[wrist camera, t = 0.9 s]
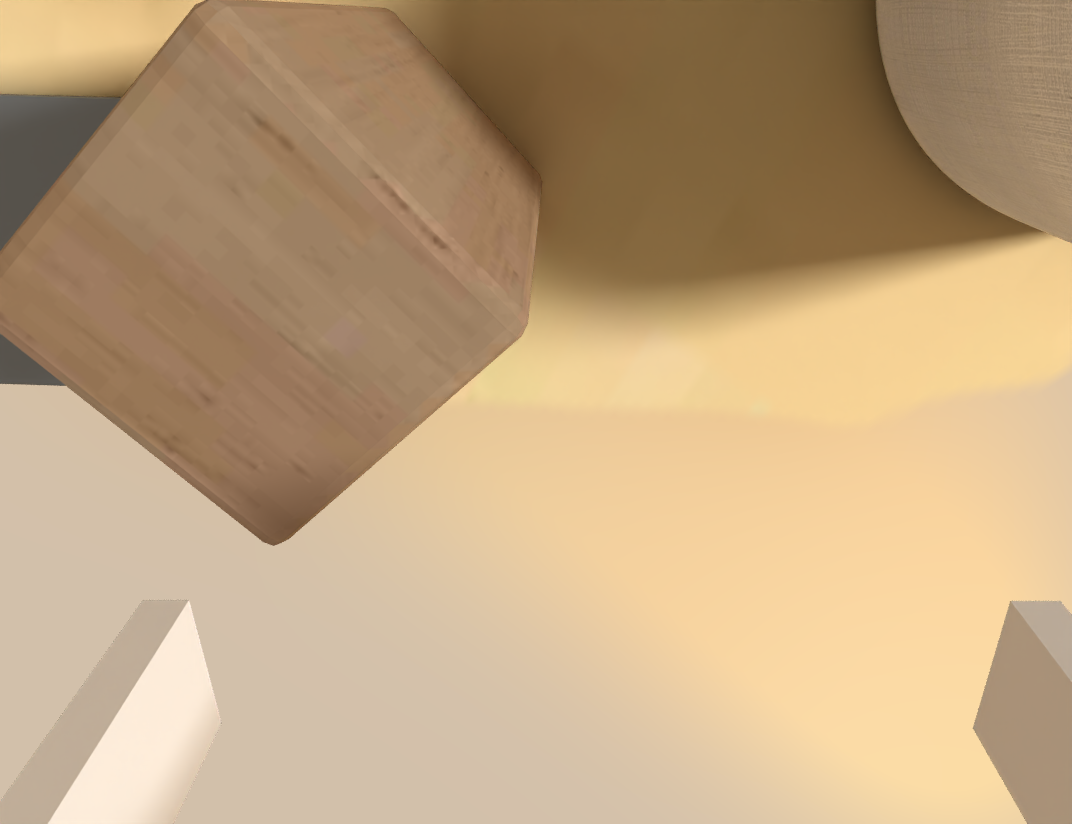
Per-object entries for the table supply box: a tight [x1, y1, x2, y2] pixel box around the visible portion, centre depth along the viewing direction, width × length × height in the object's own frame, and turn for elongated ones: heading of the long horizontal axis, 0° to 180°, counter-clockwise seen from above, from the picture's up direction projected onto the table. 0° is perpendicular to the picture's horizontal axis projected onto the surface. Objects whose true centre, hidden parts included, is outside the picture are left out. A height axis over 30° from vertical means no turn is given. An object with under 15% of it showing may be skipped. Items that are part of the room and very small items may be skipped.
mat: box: [0, 94, 121, 386], centre depth 39 cm, size 14×16×1 cm
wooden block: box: [0, 0, 542, 546], centre depth 29 cm, size 10×10×20 cm
